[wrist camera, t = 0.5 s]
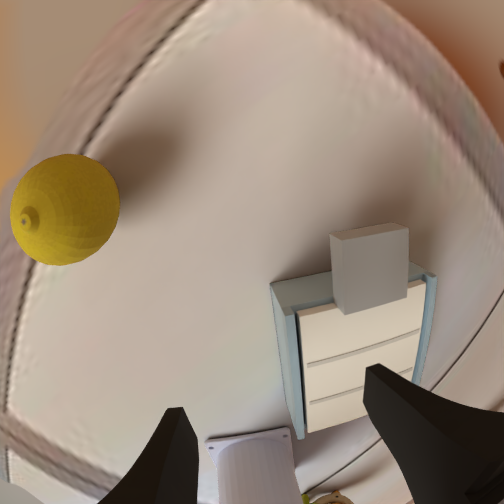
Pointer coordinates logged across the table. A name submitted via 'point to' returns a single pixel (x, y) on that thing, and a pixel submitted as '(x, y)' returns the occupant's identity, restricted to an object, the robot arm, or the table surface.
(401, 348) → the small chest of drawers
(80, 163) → the lemon
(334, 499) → the bird rattle
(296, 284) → the tub
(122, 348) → the table surface
